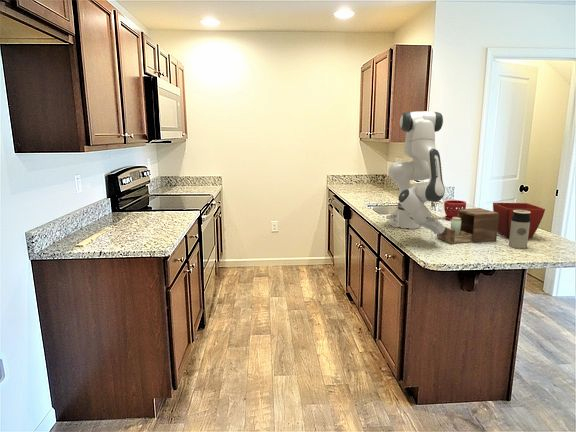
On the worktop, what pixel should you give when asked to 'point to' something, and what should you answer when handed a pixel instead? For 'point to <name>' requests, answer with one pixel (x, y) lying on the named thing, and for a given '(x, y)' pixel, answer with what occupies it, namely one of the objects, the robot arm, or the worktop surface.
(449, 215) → the plant pot
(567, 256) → the worktop surface
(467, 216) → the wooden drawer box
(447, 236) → the wooden drawer
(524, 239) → the travel mug
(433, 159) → the robot arm
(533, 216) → the plant pot
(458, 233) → the spice jar
